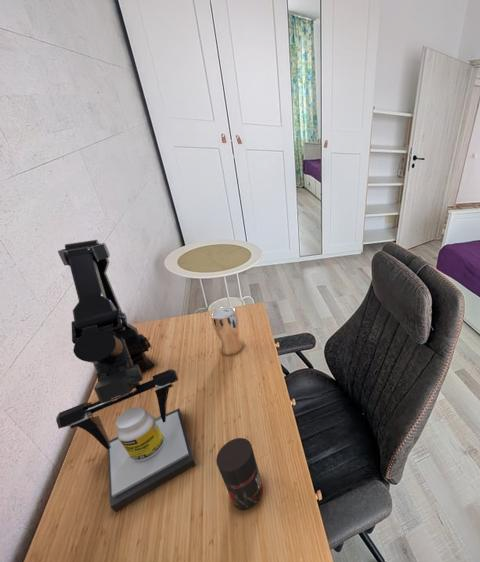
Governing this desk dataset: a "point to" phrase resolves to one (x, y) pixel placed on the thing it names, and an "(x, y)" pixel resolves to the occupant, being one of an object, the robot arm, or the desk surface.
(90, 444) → the desk surface
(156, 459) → the kitchen scale
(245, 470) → the deodorant
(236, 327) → the beer glass
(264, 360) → the desk surface
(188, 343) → the desk surface
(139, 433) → the pill bottle
